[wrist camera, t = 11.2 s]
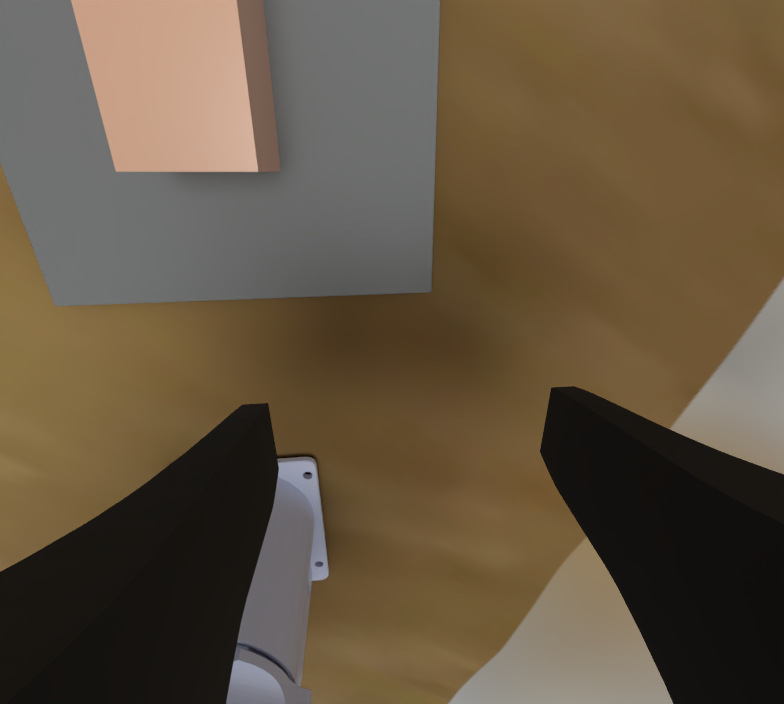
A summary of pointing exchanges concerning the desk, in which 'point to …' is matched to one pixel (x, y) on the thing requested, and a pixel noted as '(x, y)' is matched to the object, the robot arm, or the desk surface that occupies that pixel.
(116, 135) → the terracotta brick
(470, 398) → the desk surface
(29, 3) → the desk mat
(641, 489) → the robot arm
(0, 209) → the desk surface
